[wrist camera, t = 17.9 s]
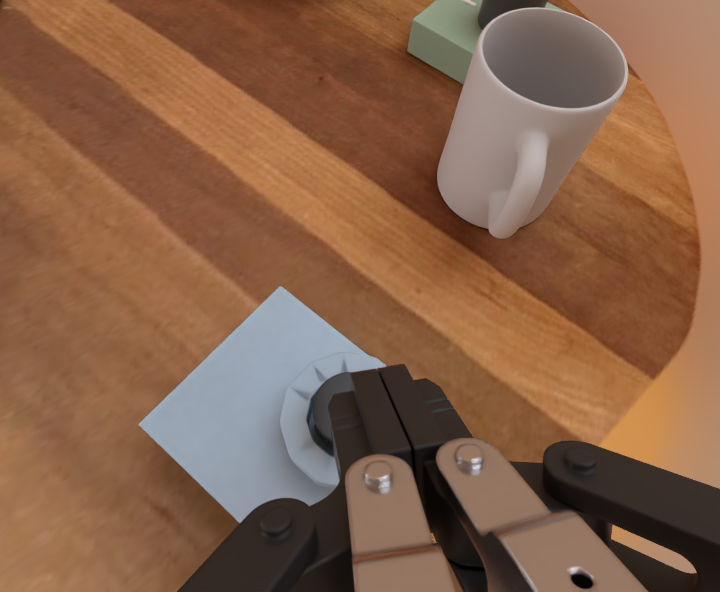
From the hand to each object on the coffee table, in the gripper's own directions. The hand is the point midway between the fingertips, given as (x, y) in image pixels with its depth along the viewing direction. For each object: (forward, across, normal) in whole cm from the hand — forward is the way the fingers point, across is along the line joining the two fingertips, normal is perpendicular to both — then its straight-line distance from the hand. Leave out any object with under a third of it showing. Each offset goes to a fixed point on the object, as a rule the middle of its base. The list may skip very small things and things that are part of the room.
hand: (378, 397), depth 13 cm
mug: (+22, +13, 0) cm, 26 cm away
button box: (+13, -3, -9) cm, 16 cm away
